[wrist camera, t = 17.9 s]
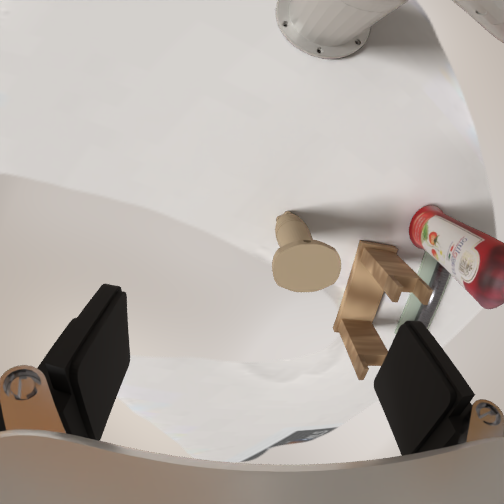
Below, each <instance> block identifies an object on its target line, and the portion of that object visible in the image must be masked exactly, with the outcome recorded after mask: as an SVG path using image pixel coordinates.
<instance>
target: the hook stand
mask: <svg viewBox="0 0 504 504" xmlns="http://www.w3.org/2000/svg"><path fill="white" fill-rule="evenodd" d="M397 250H398V249H397V248H396V247H395V246H391V245H385V244H379V243H373V242H368V241H362V240H360V241H359V245H358V249H357V252H356V256H355V259H354V263H353V266H352V270H351V273H350V276H349V279H348V283H347V286H346V289H345V292H344V296H343V299H342V302H341V305H340V308H339V311H338V314H337V317H336V320H335V323H334V326H333V329H334V332H339V333H340V335H341V338H342V340H343V342H344V345H345V347H346V350H347V352H348V355H349V357H350V359H351V362H352V364H353V367H354V369H355V372H356V374H357V377H358V379H359V380H364V378H365V376H366V374H367V372H368V369H369V368H368V366H382V364H383V362H384V360H385V358H386V355H387V353H388V351H387V349H386V347H385V345H384V344H383V342H382V340H381V338H380V336H379V335H378V333H377V331H376V329H375V328H374V326H373V324H372V322H373V319H374V317H375V314H376V311H377V309H378V306H379V303H380V301H381V298H382V295H383V292H384V291H385V293H386V294H387V295H388V297H389V298H390V299H391V301H392V302H398V300H399V297H400V294H401V292H411V293H413V294H414V295H415V296H416V297H417V298H418V300H419V301H420V302H421V303H422V304H423V305H428V302H429V300H430V297H431V295H432V292H433V290H432V289H431V288H430V287H429V286H428V285H427V284H426V283H425V282H424V281H423V280H422V279H421V278H420V277H419V276H418V275H417V274H416V273H415V272H414V271H413V270H412V269H411V268H410V267H409V266H408V265H407V264H406V263H405V262H404V261H403V260H402V259H401V258H400V257H399V256H398V255H397Z"/></svg>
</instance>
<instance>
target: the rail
mask: <svg viewBox="0 0 504 504" xmlns="http://www.w3.org/2000/svg"><path fill="white" fill-rule="evenodd" d="M449 275H450V273H449V272H448V271H447V270H446V269H445V268H444V267H443V266H442V265H441V264H440V263H439V262H438V261H437V264H436V266H435V269H434V272H433V275H432V278H431V280H430V283H429V285H428V286H429V287H430V288H431V289H432V290H433V292H432V295H431V297H430V300H429V302H428V305H423V304H422V303H421V306H420V308H419V310H418V313H417V315H416V317H415V320H414V321H421V322H422V323H423V324H424V325H425V326H426V328H428V325H429V323H430V321H431V319H432V317H433V314H434V312H435V310H436V307H437V305H438V303H439V300H440V298H441V295H442V293H443V290H444V288H445V285H446V283H447V280H448V278H449Z"/></svg>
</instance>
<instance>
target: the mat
mask: <svg viewBox="0 0 504 504" xmlns="http://www.w3.org/2000/svg"><path fill="white" fill-rule="evenodd" d="M436 264H437V260H436V259H435V258H433V257H432V256H431V255H430V254H429V253H428V252H427V251H425V254H424V257H423V260H422V263H421V266H420V268H419V271H418V274H417V275H418V276H419V277H420V278H421V279H422V280H423V281H424V282H425V283H426V284H427V285H429V283H430V280H431V278H432V275H433V272H434V269H435V266H436ZM450 276H451V274H450V275H449V278H448V280H447V283H446V285H445V288H444V290H443V293H442V295H441V298H440V300H439V303H440V301H441V299H442V296H443V294H444V291H445V289H446V286H447V284H448V281H449V279H450ZM439 303H438V305H437V307H436V310H437V308H438V306H439ZM420 306H421V302H420V301H419V300H418V298H417V297H416V296H415V295H414V294H413V293H410V296H409V298H408V301H407V303H406V306H405V308H404V311H403V313H402V316H401V318H400V320H399V323H398V325H397V328H396V330H395V334H397V331H398V329H399V327H400V326H401V325H402V324H404V323H405V322H406V321H414V320H415V317H416V315H417V313H418V310H419V308H420ZM436 310H435V312H434V314H433V317H434V315H435V313H436ZM433 317H432V319H433ZM432 319H431V321H430V323H429V325H428V328H429V326H430V324H431V322H432ZM428 328H427V329H428Z"/></svg>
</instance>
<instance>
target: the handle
mask: <svg viewBox="0 0 504 504" xmlns="http://www.w3.org/2000/svg"><path fill="white" fill-rule="evenodd" d="M276 221H277V223H276V228H275V231H276V238H277V241H278V244H279V246H280V248H279V249H278V250H277V251H276V253H275V255H274V257H273V262H272V271H273V276H274V280H275V281H276V283H277V284H278V285H279V286H281V287H283V288H285V289H288V290H291V291H294V292H314V291H318V290H321V289H323V288H326V287H328V286H330V285H332V284H334V283H335V282H336V280H337V279H338V277H339V274H340V270H341V260H340V257H339V254H338V253H337V251H336V250H335V248H333V247H331V246H329V245H327V244H325V243H323V242H320V241H317V240H313V239H312V236H311V234H310V231H309V229H308V227H307V225H306V224H305V223H304V221H303V220H302V219H301V218H299V217H298V216H296V215H294V214H292V213H291V212H290V211H286V212H285V213H284V214H283V215H281V216H278V217H277V219H276Z"/></svg>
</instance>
